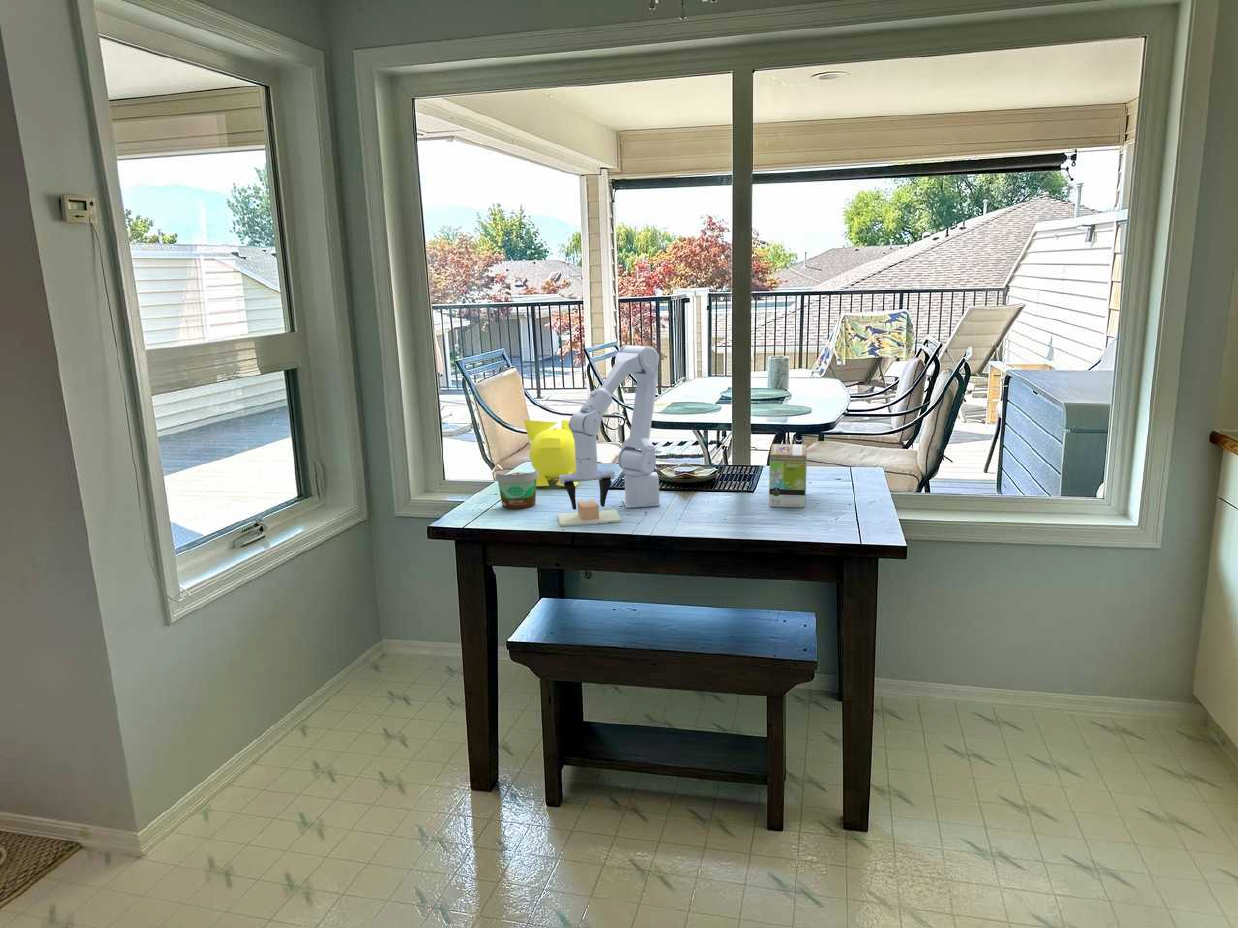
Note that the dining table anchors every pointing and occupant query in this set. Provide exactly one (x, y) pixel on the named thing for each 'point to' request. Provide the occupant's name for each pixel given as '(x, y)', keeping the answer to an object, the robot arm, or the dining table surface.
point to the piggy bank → (551, 450)
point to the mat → (575, 519)
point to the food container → (517, 490)
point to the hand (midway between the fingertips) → (588, 507)
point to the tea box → (787, 475)
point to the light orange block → (588, 510)
